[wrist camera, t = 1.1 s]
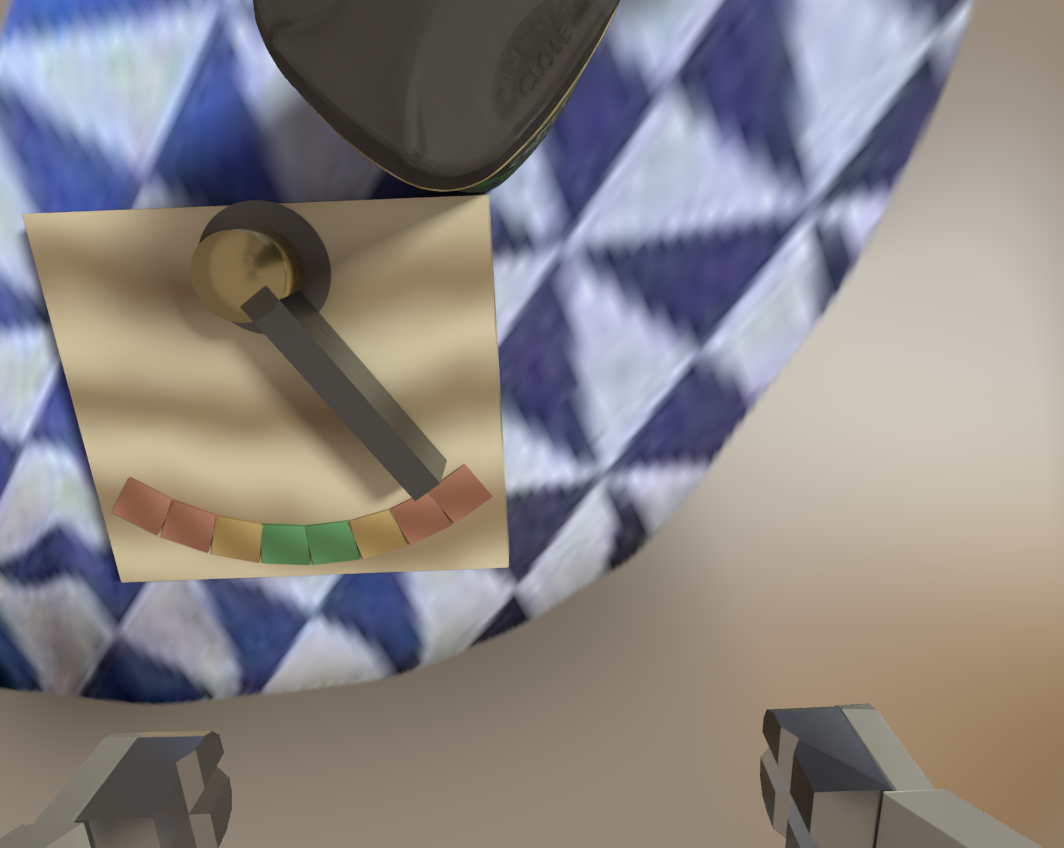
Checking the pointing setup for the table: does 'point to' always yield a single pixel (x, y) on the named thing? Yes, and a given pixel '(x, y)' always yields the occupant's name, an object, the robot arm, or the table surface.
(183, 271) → the dial board
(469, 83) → the coffee jar
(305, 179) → the table surface
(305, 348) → the tuning needle
